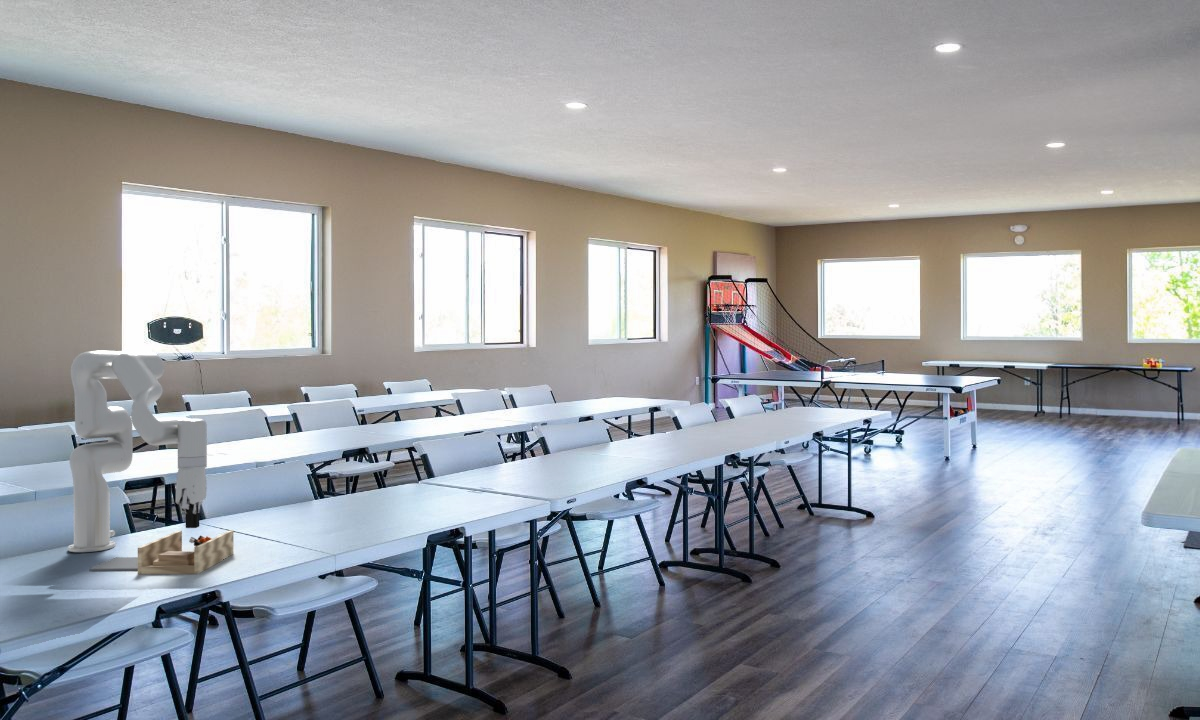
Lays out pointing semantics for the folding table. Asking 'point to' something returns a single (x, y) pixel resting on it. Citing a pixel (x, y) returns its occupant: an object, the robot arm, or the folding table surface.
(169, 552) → the offcuts
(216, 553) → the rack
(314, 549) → the folding table surface
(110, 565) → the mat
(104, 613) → the folding table surface
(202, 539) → the toy
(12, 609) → the folding table surface
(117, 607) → the folding table surface
